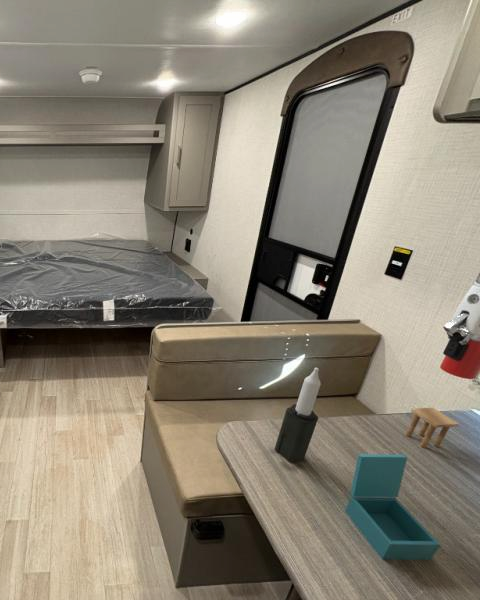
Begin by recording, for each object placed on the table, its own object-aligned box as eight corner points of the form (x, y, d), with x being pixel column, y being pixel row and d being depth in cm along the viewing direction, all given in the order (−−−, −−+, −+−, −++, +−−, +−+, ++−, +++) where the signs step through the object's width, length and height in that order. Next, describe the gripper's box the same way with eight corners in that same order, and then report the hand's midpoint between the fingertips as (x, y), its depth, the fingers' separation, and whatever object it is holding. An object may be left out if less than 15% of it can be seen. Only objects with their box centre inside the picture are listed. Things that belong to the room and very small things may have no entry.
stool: (420, 431, 84) (432, 407, 81) (445, 449, 79) (459, 424, 76) (400, 432, 84) (411, 408, 81) (423, 450, 79) (437, 425, 76)
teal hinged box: (429, 561, 56) (440, 544, 54) (381, 560, 56) (390, 544, 54) (386, 513, 64) (395, 497, 62) (343, 512, 64) (351, 496, 62)
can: (462, 366, 75) (480, 332, 71) (483, 380, 70) (504, 344, 66) (433, 363, 76) (449, 329, 73) (452, 377, 71) (471, 341, 68)
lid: (407, 457, 60) (403, 454, 61) (361, 457, 60) (358, 454, 61) (397, 497, 62) (393, 494, 62) (353, 496, 62) (350, 493, 63)
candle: (271, 450, 78) (297, 364, 69) (285, 444, 80) (312, 359, 71) (291, 466, 74) (321, 377, 65) (305, 459, 76) (337, 371, 67)
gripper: (485, 287, 61) (445, 366, 68) (573, 287, 61) (525, 367, 68) (443, 276, 68) (411, 348, 75) (523, 276, 68) (483, 349, 75)
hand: (465, 356), depth 71 cm, fingers closed on can, 5 cm apart
